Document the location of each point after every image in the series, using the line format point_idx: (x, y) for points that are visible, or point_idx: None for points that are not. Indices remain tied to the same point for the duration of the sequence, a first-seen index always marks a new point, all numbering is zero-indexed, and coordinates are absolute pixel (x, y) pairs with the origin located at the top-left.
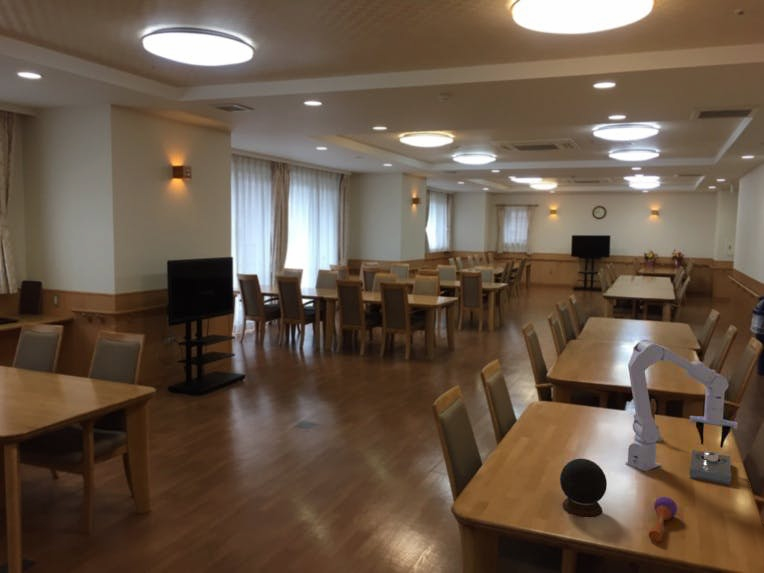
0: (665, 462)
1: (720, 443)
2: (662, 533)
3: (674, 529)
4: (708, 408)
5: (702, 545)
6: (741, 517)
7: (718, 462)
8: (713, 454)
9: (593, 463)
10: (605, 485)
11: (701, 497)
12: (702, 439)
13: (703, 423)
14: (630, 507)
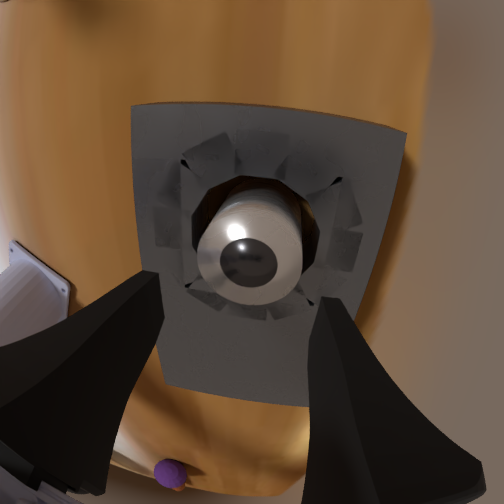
0: (70, 239)
1: (315, 348)
2: (183, 486)
3: (192, 474)
4: None
5: (226, 486)
6: (290, 463)
7: (295, 292)
8: (263, 283)
9: (75, 492)
10: None
11: (220, 433)
12: (138, 362)
13: (58, 494)
14: (125, 445)
